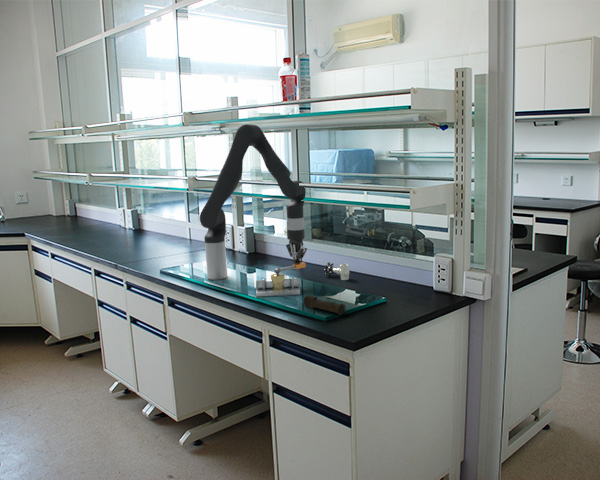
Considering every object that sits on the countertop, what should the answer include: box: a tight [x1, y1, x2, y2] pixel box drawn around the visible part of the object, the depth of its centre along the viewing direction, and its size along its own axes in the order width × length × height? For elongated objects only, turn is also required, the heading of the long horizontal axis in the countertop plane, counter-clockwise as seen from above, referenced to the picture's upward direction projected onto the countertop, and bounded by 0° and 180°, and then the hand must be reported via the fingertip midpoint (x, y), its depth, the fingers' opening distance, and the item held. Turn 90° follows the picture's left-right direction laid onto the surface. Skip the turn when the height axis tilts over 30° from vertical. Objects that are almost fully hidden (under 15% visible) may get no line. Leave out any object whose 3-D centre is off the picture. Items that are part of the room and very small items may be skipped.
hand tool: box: [303, 294, 346, 316], centre depth 203 cm, size 19×4×5 cm, turn 44°
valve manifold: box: [255, 272, 301, 298], centre depth 229 cm, size 12×18×8 cm, turn 92°
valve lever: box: [274, 261, 307, 274], centre depth 231 cm, size 15×2×2 cm, turn 127°
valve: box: [322, 261, 350, 281], centre depth 246 cm, size 7×7×12 cm
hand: (296, 267), depth 238 cm, fingers closed
